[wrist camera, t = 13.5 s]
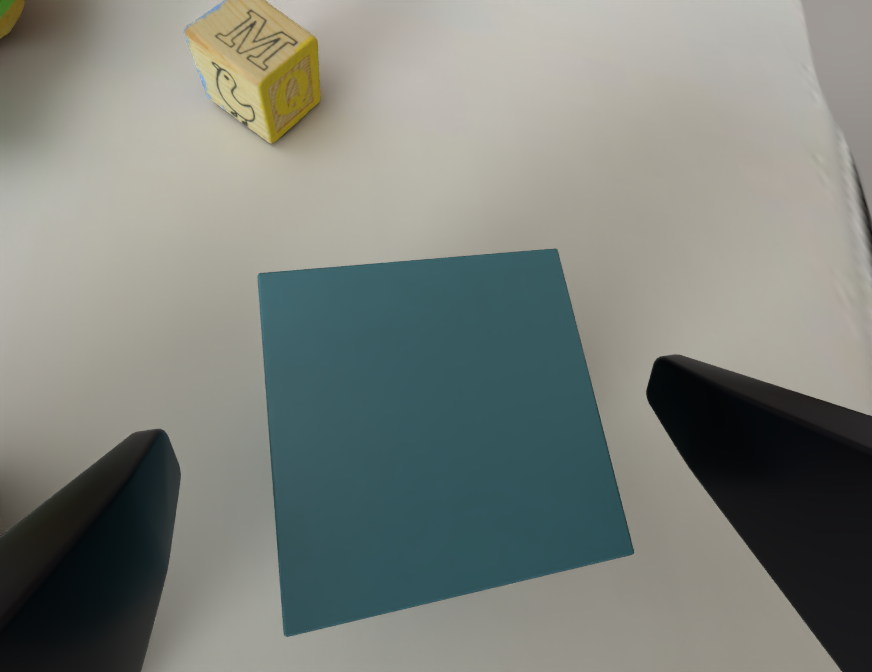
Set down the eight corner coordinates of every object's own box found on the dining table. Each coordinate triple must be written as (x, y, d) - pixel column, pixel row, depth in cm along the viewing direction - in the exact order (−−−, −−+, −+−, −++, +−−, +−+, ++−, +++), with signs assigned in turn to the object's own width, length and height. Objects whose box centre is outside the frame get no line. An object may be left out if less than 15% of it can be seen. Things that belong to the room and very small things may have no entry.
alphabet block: (262, 56, 19) (245, -20, 16) (324, 100, 18) (318, 32, 16) (208, 101, 18) (178, 29, 15) (272, 148, 17) (256, 85, 15)
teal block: (496, 511, 15) (636, 554, 8) (323, 546, 14) (283, 638, 6) (465, 348, 17) (558, 247, 9) (306, 368, 15) (256, 272, 8)
